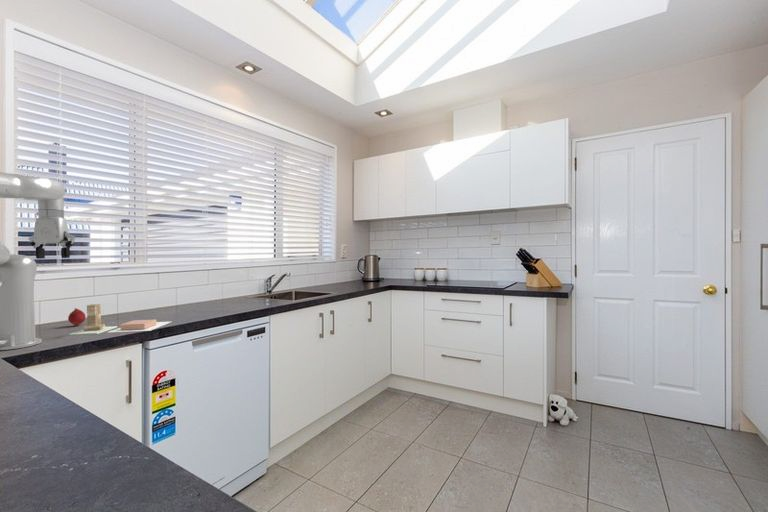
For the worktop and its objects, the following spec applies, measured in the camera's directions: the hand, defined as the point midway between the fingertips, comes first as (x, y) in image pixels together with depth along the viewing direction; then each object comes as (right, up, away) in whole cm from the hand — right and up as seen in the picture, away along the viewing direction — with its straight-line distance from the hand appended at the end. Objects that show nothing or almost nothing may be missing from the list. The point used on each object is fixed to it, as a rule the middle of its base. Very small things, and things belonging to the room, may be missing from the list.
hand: (53, 258), depth 144 cm
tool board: (+16, -30, 0) cm, 34 cm away
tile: (+31, -27, +9) cm, 42 cm away
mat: (+31, -29, +6) cm, 43 cm away
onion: (-3, -30, +15) cm, 34 cm away
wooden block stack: (+16, -29, 0) cm, 33 cm away
